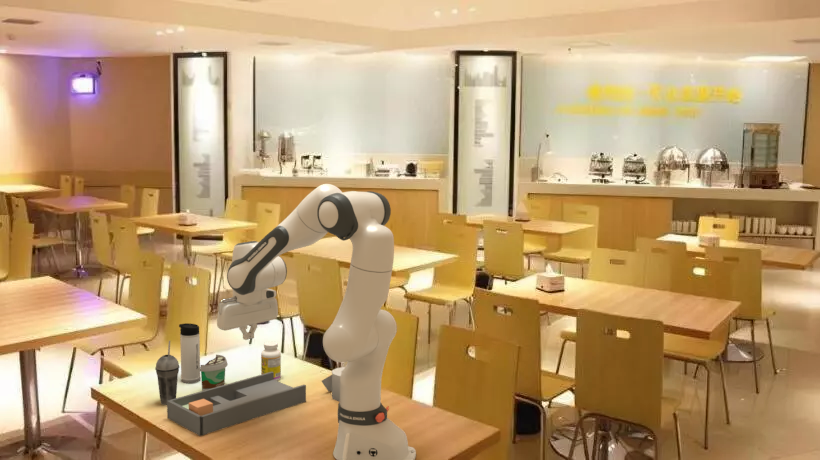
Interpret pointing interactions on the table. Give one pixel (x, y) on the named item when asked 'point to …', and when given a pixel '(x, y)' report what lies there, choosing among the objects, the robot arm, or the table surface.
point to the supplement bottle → (271, 360)
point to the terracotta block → (201, 407)
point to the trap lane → (235, 403)
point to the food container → (213, 373)
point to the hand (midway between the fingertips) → (248, 338)
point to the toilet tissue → (334, 383)
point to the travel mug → (190, 353)
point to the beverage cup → (167, 376)
